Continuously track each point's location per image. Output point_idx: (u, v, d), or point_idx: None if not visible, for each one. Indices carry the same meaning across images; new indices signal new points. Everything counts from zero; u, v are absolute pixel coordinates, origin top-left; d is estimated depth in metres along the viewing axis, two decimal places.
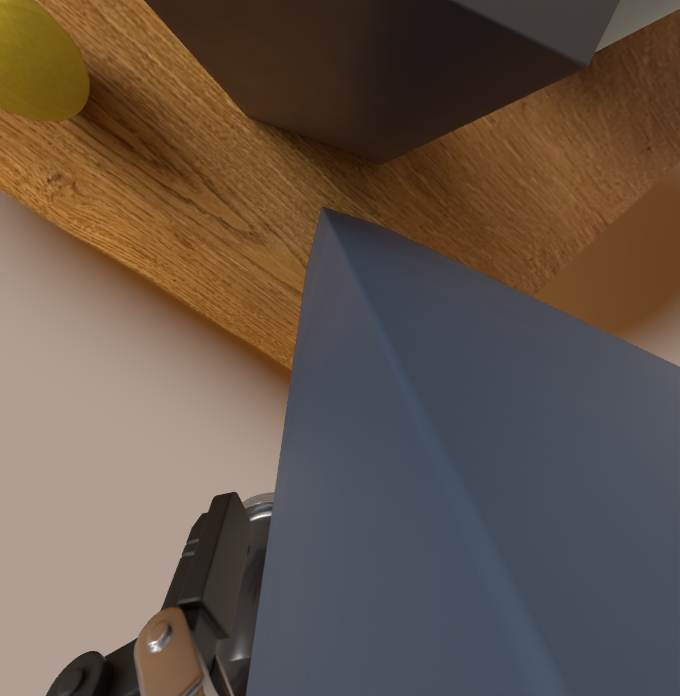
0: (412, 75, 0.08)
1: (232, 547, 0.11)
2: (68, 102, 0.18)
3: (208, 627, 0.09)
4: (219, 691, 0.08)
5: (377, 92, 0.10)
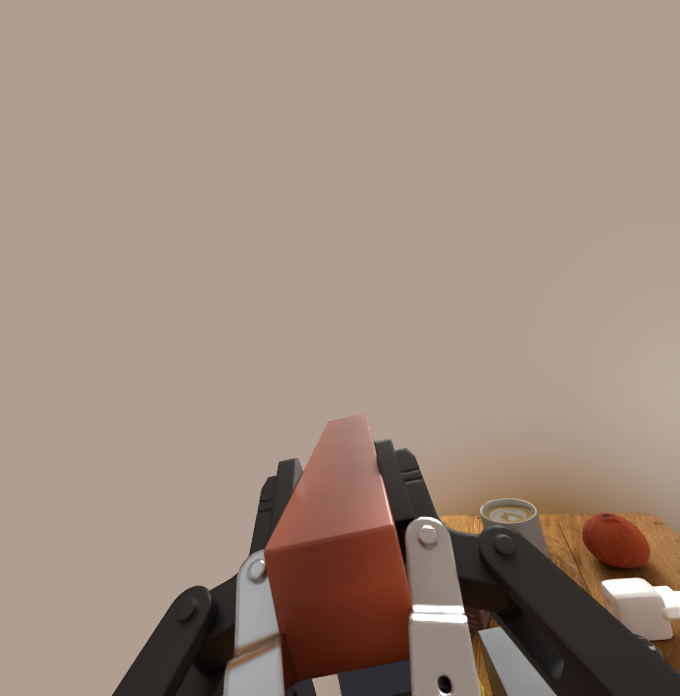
0: None
1: None
2: None
3: None
4: None
5: None
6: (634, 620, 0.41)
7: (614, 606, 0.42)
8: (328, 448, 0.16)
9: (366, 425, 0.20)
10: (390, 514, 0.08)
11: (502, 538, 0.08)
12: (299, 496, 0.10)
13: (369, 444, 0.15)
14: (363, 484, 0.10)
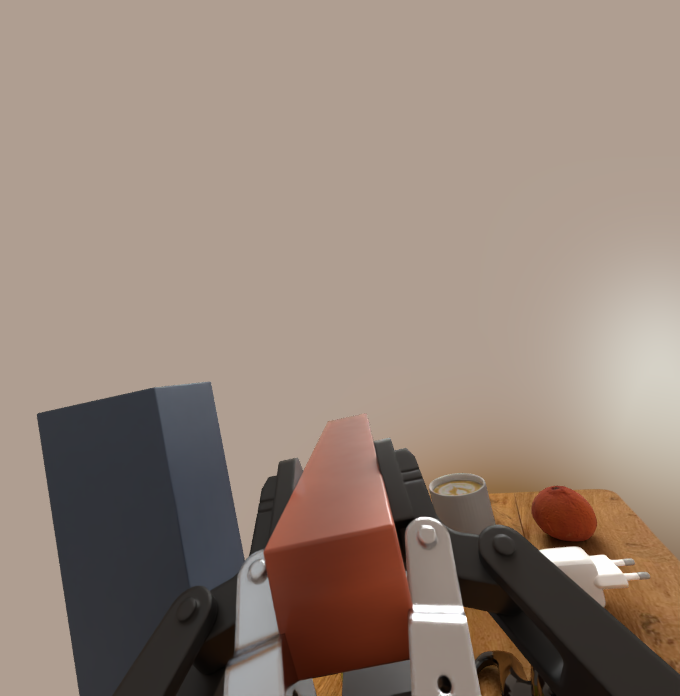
0: None
1: None
2: None
3: None
4: None
5: None
6: None
7: None
8: (328, 448, 0.16)
9: (366, 425, 0.20)
10: (390, 514, 0.08)
11: (502, 538, 0.08)
12: (299, 496, 0.10)
13: (369, 444, 0.15)
14: (363, 483, 0.10)
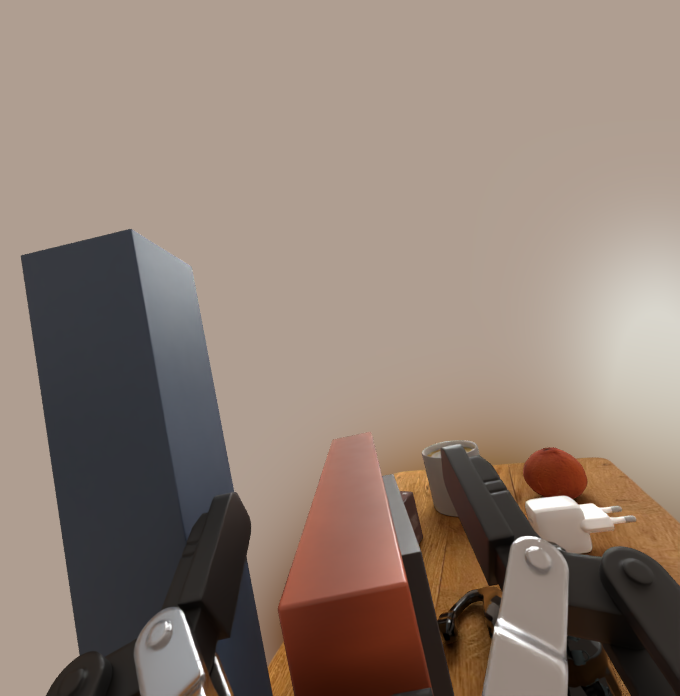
0: None
1: (232, 547, 0.11)
2: None
3: (208, 627, 0.09)
4: (219, 691, 0.08)
5: None
6: (553, 534, 0.39)
7: (534, 521, 0.40)
8: (335, 475, 0.16)
9: (372, 447, 0.20)
10: (402, 568, 0.08)
11: (637, 564, 0.07)
12: (309, 537, 0.11)
13: (376, 473, 0.15)
14: (374, 526, 0.10)
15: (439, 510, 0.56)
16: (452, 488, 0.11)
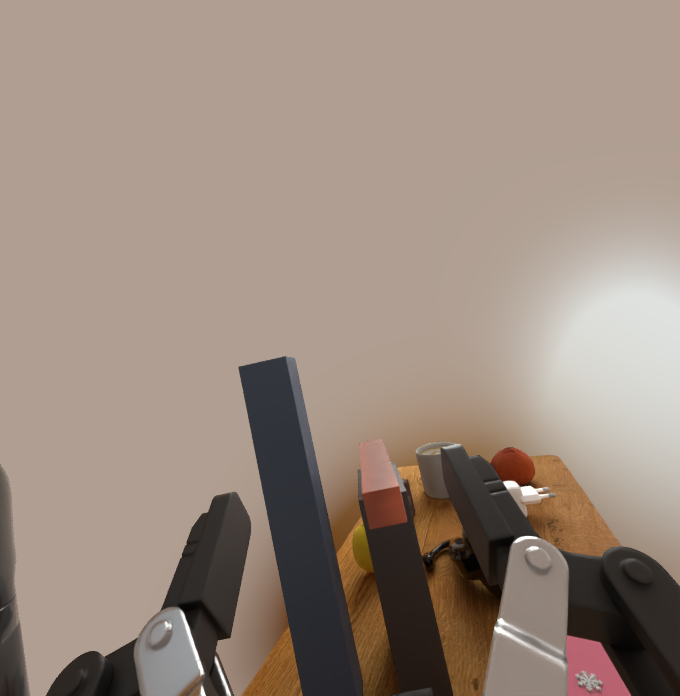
0: None
1: (232, 547, 0.11)
2: (362, 557, 0.50)
3: (208, 627, 0.09)
4: (219, 691, 0.08)
5: None
6: None
7: None
8: (367, 460, 0.35)
9: (383, 447, 0.39)
10: None
11: (637, 564, 0.07)
12: (365, 479, 0.29)
13: (387, 459, 0.34)
14: (388, 475, 0.29)
15: (428, 494, 0.75)
16: (452, 488, 0.11)
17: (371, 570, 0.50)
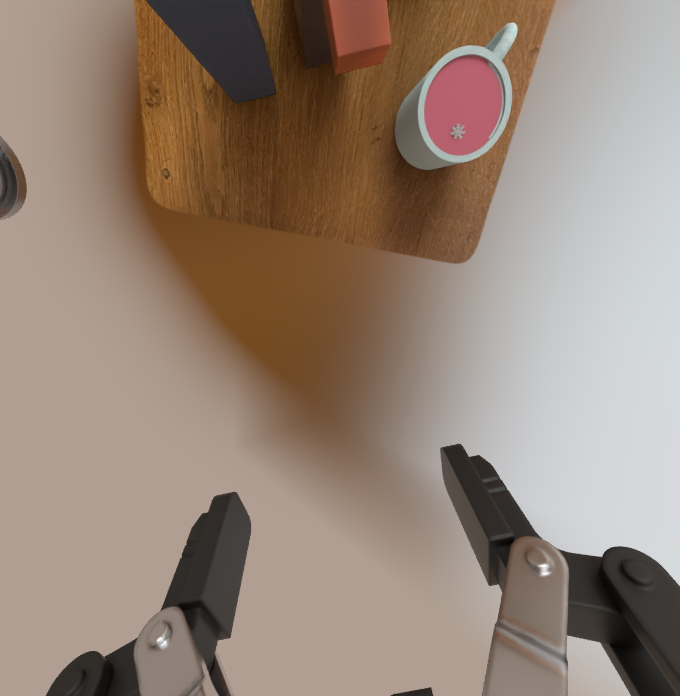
0: None
1: (232, 547, 0.11)
2: None
3: (208, 627, 0.09)
4: (219, 691, 0.08)
5: None
6: None
7: None
8: None
9: None
10: (389, 30, 0.18)
11: (636, 564, 0.07)
12: None
13: None
14: None
15: None
16: (452, 488, 0.11)
17: None
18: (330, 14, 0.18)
